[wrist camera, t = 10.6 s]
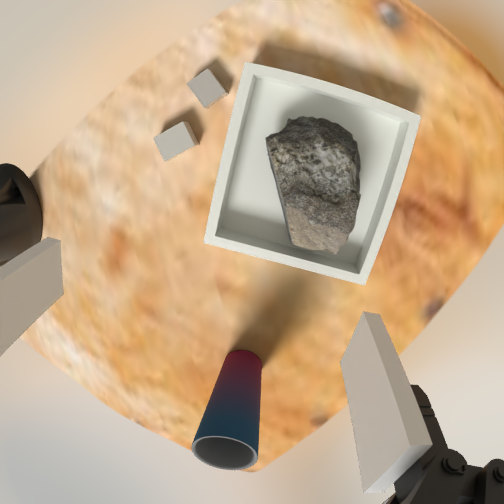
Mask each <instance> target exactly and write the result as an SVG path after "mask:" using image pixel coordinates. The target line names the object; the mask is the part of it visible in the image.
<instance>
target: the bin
mask: <svg viewBox="0 0 504 504" xmlns="http://www.w3.org/2000/svg"><path fill="white" fill-rule="evenodd" d="M303 115H304V117H311V116H313V117H314V118H316V119H318V118H324V119H327V120H329V121H330V122H332V123H338V124H339V125H340V126H342V127H343V128H344V129H346V130H348V131H349V132H351V134H352V135H353V139H354V140H355V141H357V145H358V152H359V155H360V164H361V169H360V172H359V178H360V192H359V193H360V194H361V198H360V202H359V206H358V209H357V214H356V222H355V226H354V229H353V231H352V232H351V233H350V234H349V237H348V241H347V242H346V244H345V245H342V246H341V247H340V249H339V251H338V253H337V254H333V253H330V252H328V251H322V250H310V249H307V248H303V247H299V246H296V245H292V243H291V241H290V237H289V233H288V229H287V227H286V226H287V225H286V223H285V218H284V214H283V210H282V207H281V202H280V199H279V195H278V190H277V188H276V182H275V179H274V175H273V173H272V169H271V166H270V161H269V156H268V155H267V154H268V151H267V147H266V140H265V138H266V137H268V136H269V135H270V134H274V133H279V131H281V130H282V129H283V128H284V127H285V126H286V124H287V120H288V118H290V119H292V120H293V119H297V118H298V117H301V116H303ZM420 118H421V116H419V115H417V114H415V113H413V112H410V111H408V110H405V109H403V108H401V107H398V106H396V105H393V104H390V103H388V102H385V101H383V100H380V99H377V98H375V97H372V96H369V95H366V94H363V93H361V92H358V91H355V90H352V89H349V88H346V87H343V86H339V85H336V84H333V83H330V82H326V81H323V80H319V79H316V78H312V77H309V76H305V75H301V74H297V73H293V72H289V71H285V70H281V69H277V68H272V67H268V66H263V65H258V64H253V63H248V62H245V64H244V68H243V72H242V75H241V79H240V83H239V87H238V91H237V95H236V99H235V103H234V107H233V111H232V115H231V119H230V123H229V127H228V132H227V136H226V140H225V144H224V149H223V153H222V157H221V162H220V166H219V171H218V175H217V180H216V184H215V189H214V194H213V198H212V203H211V208H210V213H209V217H208V222H207V227H206V232H205V237H204V242H203V243H206V244H210V245H214V246H218V247H221V248H225V249H229V250H233V251H236V252H240V253H244V254H248V255H251V256H255V257H259V258H263V259H266V260H270V261H274V262H278V263H281V264H285V265H289V266H293V267H297V268H300V269H304V270H308V271H312V272H315V273H319V274H323V275H327V276H331V277H334V278H338V279H342V280H346V281H350V282H353V283H357V284H361V285H365V283H366V281H367V278H368V276H369V274H370V271H371V269H372V266H373V264H374V261H375V258H376V256H377V253H378V251H379V248H380V245H381V243H382V240H383V237H384V235H385V232H386V229H387V226H388V224H389V221H390V218H391V215H392V212H393V209H394V206H395V203H396V200H397V197H398V194H399V191H400V188H401V185H402V182H403V179H404V175H405V172H406V169H407V166H408V162H409V159H410V155H411V152H412V148H413V145H414V141H415V137H416V134H417V130H418V126H419V122H420ZM285 206H286V204H285Z"/></svg>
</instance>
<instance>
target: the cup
mask: <svg viewBox="0 0 504 504" xmlns="http://www.w3.org/2000/svg"><path fill="white" fill-rule="evenodd" d="M261 371H262V363H261V361H260V359H259V357H258V356H257V355H255V354H254V353H252V352H249V351H246V350H237V351H233V352H231V353H229V354H228V355H227V356H226V358H225V361H224V363H223V366H222V368H221V371H220V374H219V376H218V379H217V381H216V384H215V387H214V389H213V392H212V394H211V397H210V400H209V402H208V405H207V407H206V410H205V412H204V415H203V418H202V420H201V423H200V425H199V428H198V430H197V433H196V435H195V438H194V441H193V443H192V447H191V448H192V452H193V453H194V455H195V456H196V457H197V458H198V459H199V460H201V461H202V462H204V463H206V464H208V465H210V466H213V467H216V468H220V469H226V470H241V469H246V468H249V467H251V466H253V465H254V464H255V463H256V462H257V460H258V444H259V421H260V397H261Z"/></svg>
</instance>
